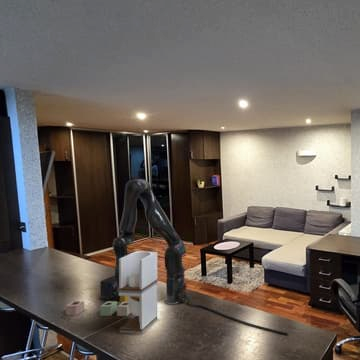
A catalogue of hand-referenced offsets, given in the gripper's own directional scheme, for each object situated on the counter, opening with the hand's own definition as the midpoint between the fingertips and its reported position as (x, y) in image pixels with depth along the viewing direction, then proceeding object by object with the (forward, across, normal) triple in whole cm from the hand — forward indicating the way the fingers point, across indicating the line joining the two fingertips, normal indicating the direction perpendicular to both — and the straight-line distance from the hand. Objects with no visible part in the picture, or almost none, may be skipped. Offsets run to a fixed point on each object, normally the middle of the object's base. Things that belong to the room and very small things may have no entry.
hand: (122, 298), depth 154 cm
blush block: (+2, -12, +16) cm, 20 cm away
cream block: (+2, -12, -9) cm, 15 cm away
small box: (+2, +7, +11) cm, 13 cm away
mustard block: (+2, 0, 0) cm, 2 cm away
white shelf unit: (+2, -23, -24) cm, 33 cm away
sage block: (+2, -12, -1) cm, 12 cm away
